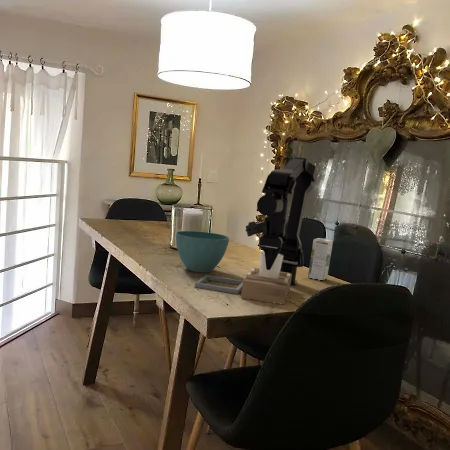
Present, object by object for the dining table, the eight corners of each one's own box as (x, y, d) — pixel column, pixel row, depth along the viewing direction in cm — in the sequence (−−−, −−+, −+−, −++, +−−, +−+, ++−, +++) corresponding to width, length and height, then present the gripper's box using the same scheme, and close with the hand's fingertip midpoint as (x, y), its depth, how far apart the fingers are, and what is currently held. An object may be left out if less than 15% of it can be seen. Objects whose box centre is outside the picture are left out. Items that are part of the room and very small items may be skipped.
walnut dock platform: (252, 283, 155) (254, 265, 154) (289, 289, 152) (292, 271, 152) (240, 297, 135) (243, 276, 135) (283, 304, 133) (286, 283, 132)
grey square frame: (205, 278, 154) (206, 274, 154) (245, 285, 152) (246, 281, 152) (194, 286, 142) (194, 282, 141) (238, 294, 139) (238, 290, 139)
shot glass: (284, 280, 141) (287, 256, 140) (261, 279, 139) (264, 255, 138) (275, 274, 148) (278, 252, 147) (254, 273, 146) (257, 250, 145)
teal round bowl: (177, 274, 155) (181, 236, 154) (168, 262, 173) (171, 228, 171) (231, 277, 160) (235, 241, 159) (217, 265, 178) (221, 232, 177)
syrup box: (312, 276, 179) (317, 237, 177) (327, 279, 176) (333, 240, 175) (307, 278, 174) (312, 238, 172) (323, 281, 171) (329, 241, 170)
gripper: (254, 209, 152) (248, 258, 154) (244, 212, 134) (237, 268, 136) (290, 214, 150) (283, 263, 151) (284, 218, 132) (277, 274, 133)
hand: (270, 267), depth 143 cm, fingers open, 9 cm apart
